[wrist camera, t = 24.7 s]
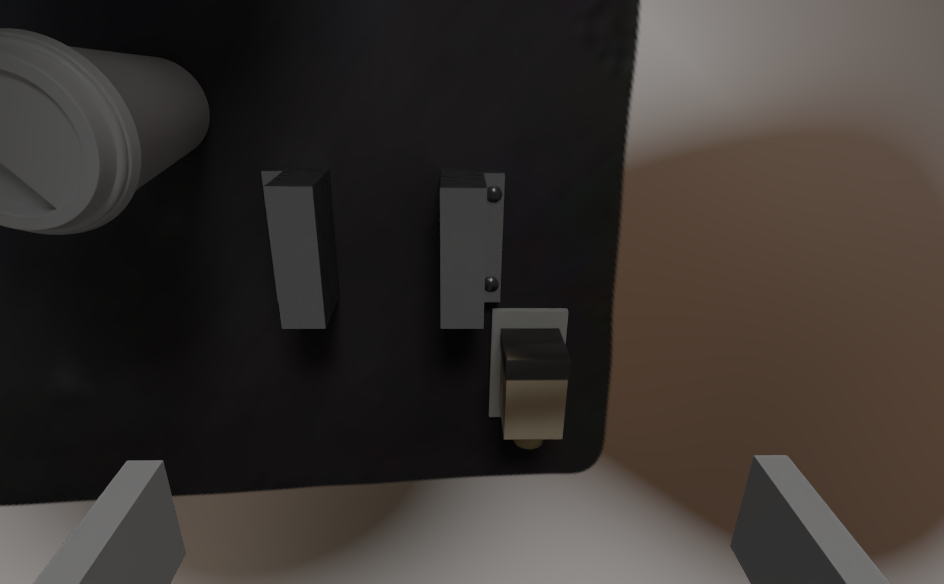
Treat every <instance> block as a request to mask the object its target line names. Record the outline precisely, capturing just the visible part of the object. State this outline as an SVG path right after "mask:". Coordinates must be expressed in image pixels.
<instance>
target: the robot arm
mask: <svg viewBox="0 0 944 584" xmlns="http://www.w3.org/2000/svg"><path fill="white" fill-rule="evenodd" d="M730 546H731V548H732V550H733V552H734V553H735V555H736V557H737V559H738V561H739V563H740V565H741V566H742V568H743V570H744V572H745V574H746V576H747V577H748V579H749V581H750V583H751V584H890V583H889V582H888V581H887V579H886V578H885V577H884V576H883V574H882V573H881V572H880V570H879V569H878V568H877V567H876V565H875V564H874V563H873V562H872V561H871V559H870V558H869V557H868V556H867V554H866V553H865V552H864V550H863V549H862V548H861V547H860V545H859V544H858V543H857V542H856V541H855V539H854V538H853V537H852V536H851V534H850V533H849V532H848V531H847V529H846V528H845V527H844V526H843V524H842V523H841V522H840V521H839V519H838V518H837V517H836V516H835V514H834V513H833V512H832V511H831V509H830V508H829V507H828V506H827V504H826V503H825V502H824V501H823V500H822V498H821V497H820V496H819V494H818V493H817V492H816V491H815V489H814V488H813V487H812V486H811V484H810V483H809V482H808V481H807V479H806V478H805V477H804V476H803V474H802V473H801V472H800V471H799V470H798V469H797V467H796V466H795V465H794V463H793V462H792V461H791V460H790V459H789V457H788V456H787V455H771V456H770V455H767V456H754V457H753V461H752V465H751V469H750V473H749V476H748V480H747V484H746V488H745V492H744V496H743V500H742V503H741V507H740V511H739V515H738V518H737V522H736V526H735V530H734V534H733V537H732V541H731V545H730ZM185 554H186V552H185V548H184V544H183V540H182V536H181V532H180V528H179V524H178V520H177V516H176V511H175V507H174V504H173V499H172V495H171V491H170V487H169V483H168V479H167V475H166V471H165V467H164V462H163V460H152V461H127V462H126V463H125V464H124V465H123V467H122V468H121V469H120V471H119V472H118V473H117V475H116V476H115V477H114V479H113V480H112V481H111V482H110V484H109V485H108V486H107V488H106V489H105V490H104V492H103V493H102V494H101V495H100V497H99V498H98V499H97V501H96V502H95V503H94V505H93V506H92V507H91V509H90V510H89V511H88V513H87V514H86V515H85V516H84V518H83V519H82V521H81V522H80V523H79V524H78V526H77V527H76V528H75V529H74V531H73V532H72V533H71V535H70V536H69V538H68V539H67V540H66V541H65V542H64V544H63V545H62V546H61V548H60V549H59V550H58V552H57V553H56V554H55V556H54V557H53V558H52V559H51V561H50V562H49V564H48V565H47V566H46V567H45V569H44V570H43V571H42V573H41V574H40V575H39V576H38V578H37V579H36V580H35V582H34V583H33V584H170V583H171V581H172V579H173V577H174V575H175V574H176V571H177V570H178V568H179V566H180V564H181V562H182V560H183V558H184V556H185Z"/></svg>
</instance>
